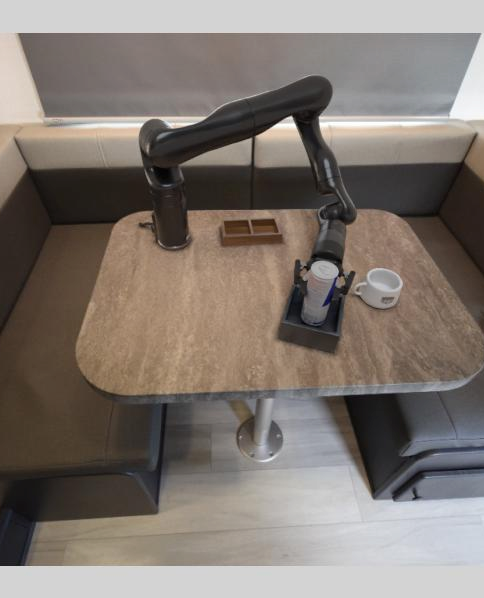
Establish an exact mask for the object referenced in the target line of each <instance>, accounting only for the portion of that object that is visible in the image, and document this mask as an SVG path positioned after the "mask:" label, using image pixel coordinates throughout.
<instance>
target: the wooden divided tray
mask: <svg viewBox="0 0 484 598" xmlns="http://www.w3.org/2000/svg"><path fill="white" fill-rule="evenodd" d="M220 229H221V230H220V231H221V238H222V245H223V246H238V245H258V244H259V245H261V244H278V243H282V240H283V233H282V230H281V226H280V223H279V221H278V218H277V217H276V216H273V217H254V218H253V217H252V218H231V219H229V218H228V219H220Z"/></svg>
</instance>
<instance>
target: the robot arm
mask: <svg viewBox="0 0 484 598" xmlns="http://www.w3.org/2000/svg"><path fill="white" fill-rule="evenodd" d="M333 94H334V87H333V84H332V82H331V81H330V80H329V79H328V78H327V77H326V76H324V75H322V74H309V75H306V76H303V77H302V78H299V79H297V80H295V81H293V82H290V83H288V84H286V85H283V86H281V87H278V88H275V89H272V90H267V91H264V92H261V93H257V94H255V95H251V96H247V97H243V98H239V99H236V100H233V101H228V102H227V103H224V104H222V105H221V106H219V107H217V108H216V109H215V110H213V112H211V113H210V114H209V115H208V116H206V117H205V118H203V119H202V120H200V121H198V122H195V123H192V124H188V125H185V126H179V127H173V126H172V125H171V124H170V123H169V122H168V121H167V120H164V119H162V118H151V119H150V118H149V119H148V120H147V121H145V122H144V123H143V124H142V125H141V126H140V129H139V131H138V147H139V152H140V156H141V157H140V158H141V162H142V166H143V171H144V175H145V178H146V181H147V184H148V189H149V190H148V191H149V194H150V201H151V206H152V212H151V215H150V216H151V222H149V221H147V222H141V221H140V222H139V223H138V226H140V227H146V226H150V231H151V233H152V234H154V237H155V242H157V243H158V244H159V246H160V247H161V248H163V249H166V250H169V251H177V250H181V249H184V248H185V247H187V246H188V245H189V244H190V243H191V232H190V228H189V227H190V225H189V216H188V205H187V197H186V188H185V187H186V186H185V185H186V184H185V178H184V174H183V172H182V169H181V166H180V165H182V164H184V163H186V162H189V161H191V160H193V159H194V158H197V157H199V156H202V155H204V154H206V153H209V152H212V151H215V150H219V149H222V148H225V147H227V146H230V145H234V144H236V143H241V142H244V141H247V140H250V139H253V138H255V137H257V136H260V135H262V134H264V133H265V132H267V131H268V130H271V128H273V127H274V126H276V125H278V124H279V123H281V122H282V121H283V120H286V119H287V118H290V117H292V120H293V123H294V125H295V127H296V129H297V132H298V134H299V136H300V139H301V142H302V145H303V147H304V150H305V153H306V155H307V158H308V161H309V166H310V168H311V173H312V177H313V181H314V185H315V190H316V193H317V195H318V196H319V197H330V196H335V197H336V198H337V200H336V201H334V202H331V203H327V204H325V205H323V206H321V207H319V209H317V211H316V214H315V218H316V222H317V228H318V230H317V234H316V238H315V240H314V242H313V245H312V248H311V249H312V250H311V252H310V253H311V254H310V258H309V260H308V261H306V262H301V260H300V259H299V258H297V259H295V260H294V266H293V284H295V285H300V289H299V294H298V295H299V296H300V297H301V299H303V300H304V297H305V293H306V289H307V283H308V279H309V274H310V270H311V266H312V264H313V263H315V262H317V261H327V262H330V263H332V264H334V265H335V266H336V267H337V268H338V271H339V273H338V278H337V281H336V284H335V288H334V291H333V294H332V298H331V302H330V306H334V304H335V305H336V304H337V303H338V300H339V294H340V295H345V296H348V293H349V292H350V289H351V287H352V285H353V282H354V279H355V276H356V273H357V272H356V271H355V270H350V271H346V270H345V269H344V268H343V263H344V257H345V252H346V251H345V250H346V238H347V233H348V231H347V230H348V229H347V227H348V226H350V225H352V224H354V223H355V222H356V221H357V217H358V211H357V208H356V206H355V204H354V202H353V200H352V198H351V197H350V195H349V193H348V191H347V190H346V187H345V185H344V182H343V178H342V174H341V171H340V170H341V169H340V165H339V161H338V159H337V157H336V155H335V153H334V152H333V149H332V148H331V147H330V146H329V144H328V143H327V141H326V140H325V138H324V137H323V134H322V132H321V131H322V130H321V126H320V116H321V115H322V114H323V113H324V111H325V110H326V109H327V107H328V106H329V105H330V103H331V101H332V99H333ZM304 269H305V270H306V272H307V273H306V274H305V275H303V276H301V273H302V272H303V271H304ZM341 278H343V280H344V285H342V284H341V282H340V279H341Z"/></svg>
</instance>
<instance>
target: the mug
mask: <svg viewBox="0 0 484 598" xmlns="http://www.w3.org/2000/svg"><path fill="white" fill-rule="evenodd" d="M403 285H404V283H403V279H402V277H401V276H400V275H399V274H398V273H396V272H395V271H393V270H391V269H388V268H383V267H376V268H373V269H370V270H369V271H368V272H367V273H366V275H365V277H364V279H363V280H362V282H358V283H357V284H355V285H354V286H353V288H352V293H353V294H354V295H356V296H359V297H360V298H361V300H362V301H363V302H364V303H365V304H367V305H368V306H370V307H373V308H374V309H375V308H376V309H379V310H380V309H381V310H385V309H390V308H393V307H394V306H395V305H396V304H397V303H398V300H399V299H400V294H401V292H402V289H403ZM357 289H358V291H357Z"/></svg>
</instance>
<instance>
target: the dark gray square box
mask: <svg viewBox="0 0 484 598" xmlns="http://www.w3.org/2000/svg"><path fill="white" fill-rule="evenodd" d="M299 289H300V285H299V284H298V285H295V284H294V283H292V284H291V287H290V291H289V294H288V297H287V300H286V305H285V307H284V311H283V313H282V316H281V320H280V324H279V332H278V338H277V339H278V340H280V341H283V342H284V341H285V342H288V343H292V344H296V345H300V346H303V347H308V348H311V349H316V350H318V351H322V352H327V353H331V354H334V353H335V351H336V348H337V346H338V343H339V340H340V337H341V331H342V325H343V318H344V311H345V304H346V296H347V295H342V294H339V300H338V303H337V304H336V305H335V304H334V306H330V305H329V308H328V311H327V315H326V318H325V321H324V322H323V323H322V324H320V325H316V326H314V325H309V324H307V323H305V322H304V321H303V320H302V318H301V311H302V307H303V302H304V300H303V299H301V297H300V296H299V295H298V294H299ZM330 302H331V301H330Z"/></svg>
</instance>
